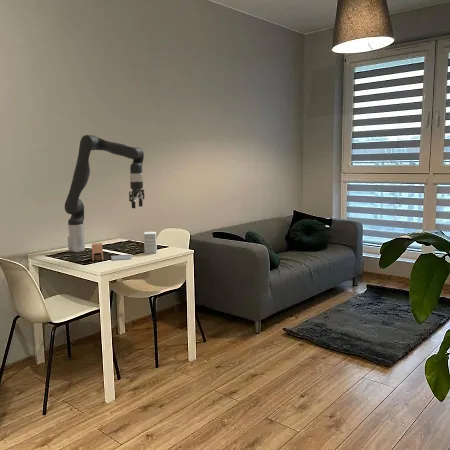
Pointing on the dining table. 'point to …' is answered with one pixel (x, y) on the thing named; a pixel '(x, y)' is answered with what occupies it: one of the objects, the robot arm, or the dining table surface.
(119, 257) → the grey mat
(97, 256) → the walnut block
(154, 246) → the supplement box
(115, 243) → the dining table surface
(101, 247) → the terracotta cover
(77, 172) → the robot arm
